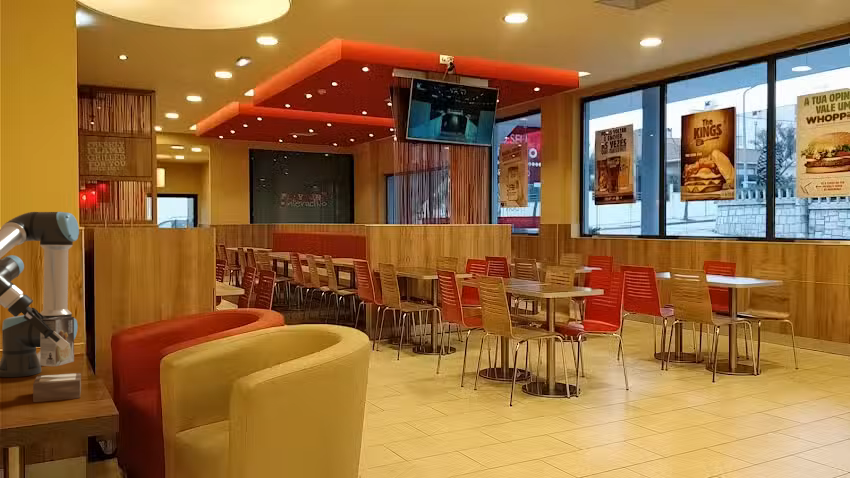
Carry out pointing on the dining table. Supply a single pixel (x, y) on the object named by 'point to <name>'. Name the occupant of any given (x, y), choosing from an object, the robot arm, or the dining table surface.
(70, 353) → the coffee box
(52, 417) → the dining table surface
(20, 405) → the dining table surface
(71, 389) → the pedestal
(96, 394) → the dining table surface
